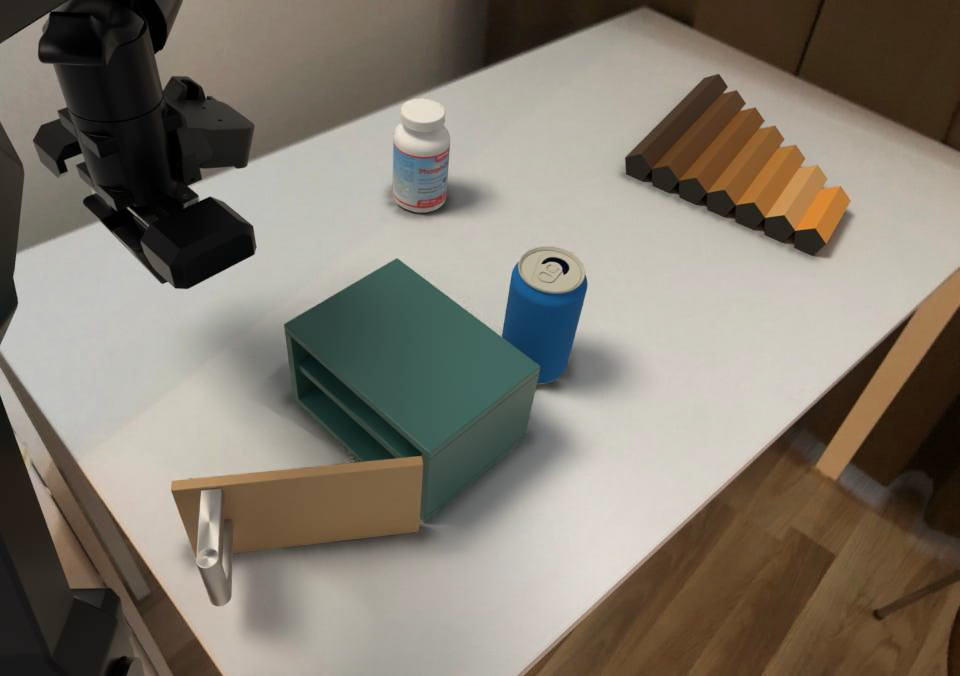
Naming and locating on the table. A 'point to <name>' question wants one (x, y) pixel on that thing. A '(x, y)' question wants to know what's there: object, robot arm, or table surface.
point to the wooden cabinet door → (294, 510)
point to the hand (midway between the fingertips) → (165, 279)
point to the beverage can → (545, 307)
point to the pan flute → (738, 167)
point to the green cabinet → (411, 379)
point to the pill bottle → (421, 156)
